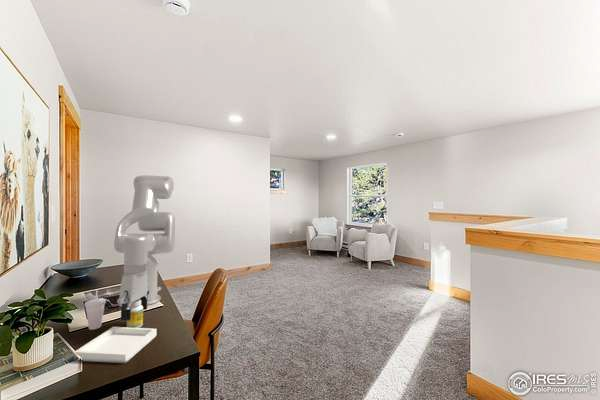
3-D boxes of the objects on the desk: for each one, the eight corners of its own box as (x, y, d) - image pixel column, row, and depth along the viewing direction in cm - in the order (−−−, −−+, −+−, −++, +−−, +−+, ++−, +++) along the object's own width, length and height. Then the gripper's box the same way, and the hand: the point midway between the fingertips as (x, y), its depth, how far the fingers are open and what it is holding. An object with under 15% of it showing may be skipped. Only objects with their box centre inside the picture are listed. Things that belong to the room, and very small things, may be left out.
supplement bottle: (132, 322, 106) (132, 298, 106) (145, 323, 106) (146, 298, 106) (123, 329, 100) (123, 303, 100) (137, 329, 100) (138, 304, 100)
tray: (112, 333, 97) (113, 326, 97) (156, 335, 96) (156, 328, 96) (73, 360, 81) (73, 352, 81) (125, 363, 80) (125, 354, 80)
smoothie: (93, 332, 98) (94, 293, 98) (79, 330, 99) (80, 292, 99) (109, 324, 104) (110, 287, 104) (95, 322, 105) (96, 286, 105)
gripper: (140, 263, 111) (139, 305, 111) (108, 274, 94) (107, 324, 94) (158, 264, 111) (157, 306, 111) (129, 274, 94) (128, 324, 93)
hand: (134, 314), depth 102 cm, fingers open, 9 cm apart
